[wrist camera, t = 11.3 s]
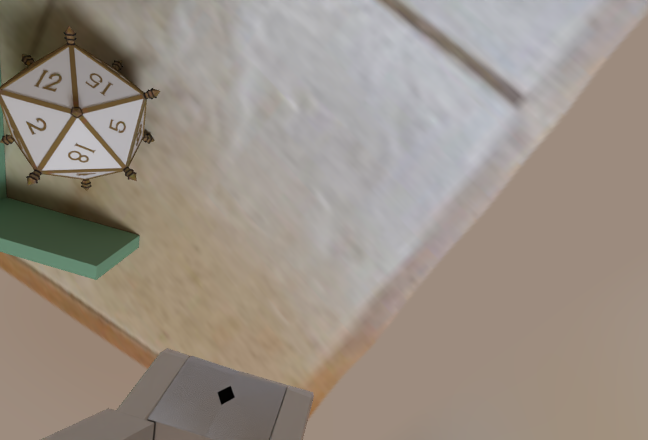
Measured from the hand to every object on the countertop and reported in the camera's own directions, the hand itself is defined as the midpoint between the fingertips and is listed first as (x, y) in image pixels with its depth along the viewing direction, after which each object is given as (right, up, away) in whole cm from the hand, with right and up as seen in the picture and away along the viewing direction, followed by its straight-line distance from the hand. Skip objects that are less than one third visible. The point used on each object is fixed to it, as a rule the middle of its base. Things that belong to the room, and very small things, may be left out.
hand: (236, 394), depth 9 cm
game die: (-12, +11, +21) cm, 27 cm away
